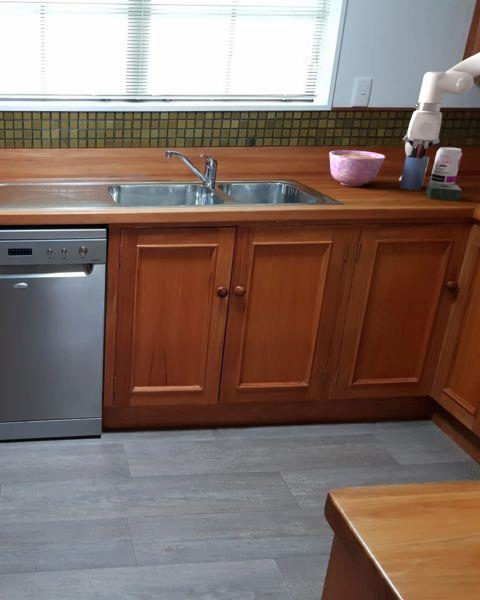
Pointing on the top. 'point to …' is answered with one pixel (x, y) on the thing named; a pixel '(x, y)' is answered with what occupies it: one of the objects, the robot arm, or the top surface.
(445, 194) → the straw stand
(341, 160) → the bowl of food
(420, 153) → the straw
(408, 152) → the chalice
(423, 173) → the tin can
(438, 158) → the supplement can
